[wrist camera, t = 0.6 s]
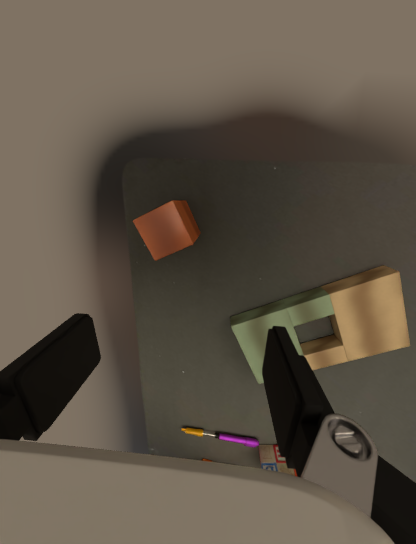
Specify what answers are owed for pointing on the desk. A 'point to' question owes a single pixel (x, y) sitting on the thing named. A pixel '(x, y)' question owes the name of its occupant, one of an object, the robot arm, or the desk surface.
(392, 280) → the green and tan board
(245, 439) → the purple and yellow rod
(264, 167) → the desk surface
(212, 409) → the desk surface
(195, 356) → the desk surface
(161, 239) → the reddish brown rectangular block
